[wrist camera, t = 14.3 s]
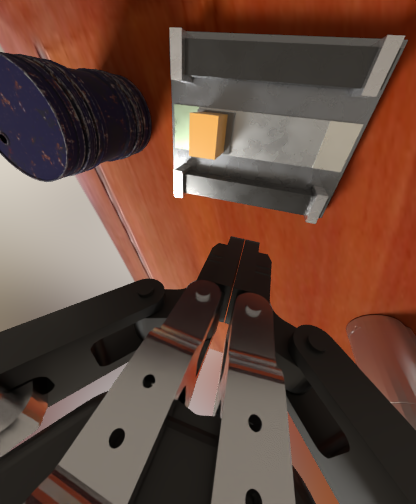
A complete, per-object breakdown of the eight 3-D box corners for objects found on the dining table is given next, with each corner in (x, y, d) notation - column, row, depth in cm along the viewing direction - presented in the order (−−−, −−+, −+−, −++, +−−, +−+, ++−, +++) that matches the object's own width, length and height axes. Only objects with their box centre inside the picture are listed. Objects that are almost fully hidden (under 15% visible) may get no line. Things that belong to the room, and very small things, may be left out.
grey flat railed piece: (397, 45, 18) (431, 28, 14) (318, 211, 29) (325, 228, 25) (177, 36, 22) (155, 20, 18) (179, 186, 32) (165, 197, 28)
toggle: (234, 112, 23) (225, 114, 19) (229, 153, 25) (220, 162, 21) (199, 108, 24) (183, 109, 19) (197, 149, 26) (183, 156, 22)
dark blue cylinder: (127, 56, 24) (-8, 10, 13) (164, 141, 29) (89, 164, 17) (78, 94, 28) (-57, 87, 17) (117, 163, 33) (32, 194, 22)
